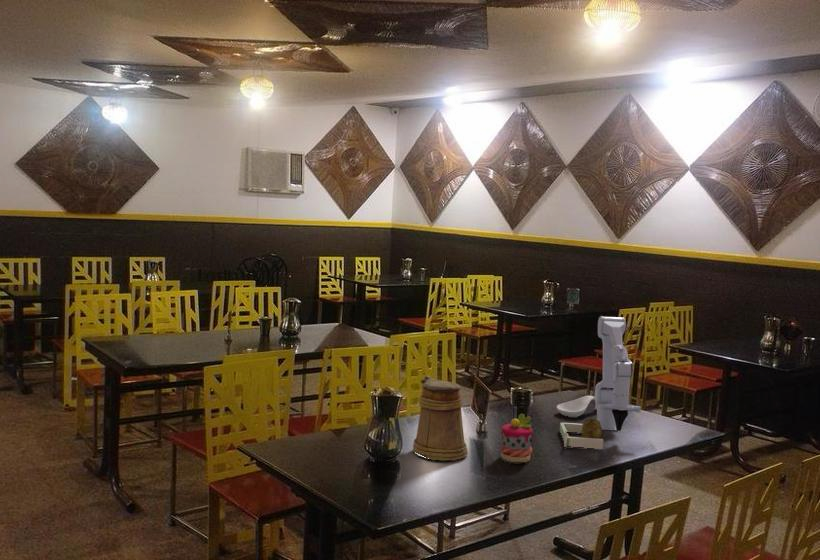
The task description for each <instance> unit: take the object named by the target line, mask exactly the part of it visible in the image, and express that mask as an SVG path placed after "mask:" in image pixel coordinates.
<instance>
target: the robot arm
mask: <svg viewBox="0 0 820 560" xmlns="http://www.w3.org/2000/svg"><path fill="white" fill-rule="evenodd" d="M626 323H627V322H626V319H625V317H624V316H622V317H620V316H619V317H618V316H617V317H616V316H603V315H600V316H599V317H598V320H597V336H598V338H599V339H601V341H602V379H601V380H600V382H598V383H596V384H595V388H594V390H595V391H594V396H593V397H594V398H595V400H594V403H595V405H596V404H598V408H597V410H596V420H598V421H599V422H600V424H601V427H602V431H614V430H615V431H620V432H621V431H622V427H623V425H624V422H625V420H626V419H627V417H628V415H629V412H632V413H633V412H634V413H635V412H636V413H641V411H642V408H641V406H640V405H633V404H630V403H629V400H630V387H631V385H630V384H631V378H632V377H633V375H634V363H633V362H632V361H631V359H629V355H628V349H627V348H626V347H625V346H624V344H623V342H624V341H623V335H624V333H625V331H626V328H627V324H626Z"/></svg>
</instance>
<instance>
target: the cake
mask: <svg viewBox="0 0 820 560" xmlns="http://www.w3.org/2000/svg"><path fill="white" fill-rule="evenodd" d="M531 420H532V419H531V416H526V417H525V414H524V413H520V414H519V415H518V417H514V418H513V419H511V421H510V423H507V424H504V425H503V426H502V427H501V446H500V447H499V449H500V450H501V451H500V452H501V453H500V458H501V457H502V458H503V459H505V460H507V461H511V462H527V461H529V460H530V461H531V454H532V453H533V448H532V447H533V446H532V443H533V442H532V441H533V439H532V437H533V429H532V425H531V424H529V423H530V422H531Z"/></svg>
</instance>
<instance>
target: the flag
mask: <svg viewBox="0 0 820 560" xmlns="http://www.w3.org/2000/svg"><path fill="white" fill-rule="evenodd" d="M566 444H567V430H565V440H564V442H563V448H564V447H566ZM566 448H567V447H566Z"/></svg>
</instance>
